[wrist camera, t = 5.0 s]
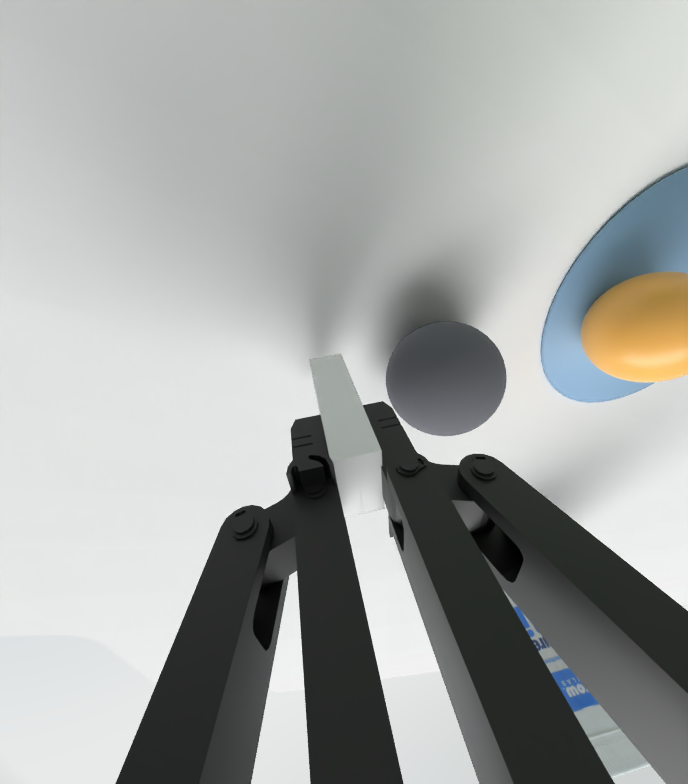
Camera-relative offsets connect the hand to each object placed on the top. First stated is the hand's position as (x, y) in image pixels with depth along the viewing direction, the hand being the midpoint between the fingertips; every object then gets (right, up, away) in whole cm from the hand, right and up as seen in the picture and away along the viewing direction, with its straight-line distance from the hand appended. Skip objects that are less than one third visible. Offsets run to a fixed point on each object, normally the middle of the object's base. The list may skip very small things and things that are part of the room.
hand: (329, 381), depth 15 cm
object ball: (+16, +3, +1) cm, 17 cm away
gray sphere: (+6, 0, 0) cm, 6 cm away
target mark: (+19, +5, +4) cm, 20 cm away
